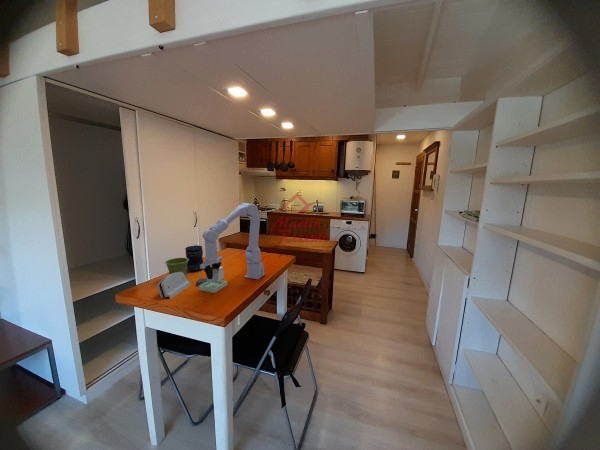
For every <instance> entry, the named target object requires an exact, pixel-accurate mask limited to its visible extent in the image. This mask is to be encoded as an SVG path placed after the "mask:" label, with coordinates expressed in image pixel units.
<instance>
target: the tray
mask: <svg viewBox="0 0 600 450" xmlns="http://www.w3.org/2000/svg"><path fill="white" fill-rule="evenodd" d="M226 286H228V281H227V280H223V279H222V280H217V281H215V282H214V283H213V282H205V283H204V284H202V285H200V286H198V290H199V291H203V292H207V293H213V294H216V293H218V292H219V291H220V290H222V289H223V288H225V287H226Z"/></svg>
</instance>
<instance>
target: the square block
mask: <svg viewBox="0 0 600 450" xmlns="http://www.w3.org/2000/svg"><path fill="white" fill-rule="evenodd" d="M205 282H207V278H206V277H204V278H203V277H202V278H198V280H196V281H195V287H199V286H200V285H202V284H204V283H205Z"/></svg>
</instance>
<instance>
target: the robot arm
mask: <svg viewBox="0 0 600 450" xmlns="http://www.w3.org/2000/svg"><path fill="white" fill-rule="evenodd" d="M259 212H260V211H259V207H258V206H257V205H256V204H255V203H248V202H242V203H241V204H239V205H238V206H236V208H235V209H233V211H232V212H231V213H229V214H228V215H227V216H226V217H225V218H224V219H220V220H219V219H217V221H216V223H215V224H213V225H212V226H209V229H205V230H204V232H203V234H202V238H203V240H204V252H205V254H204V255H205V261H203V264H201V265H200V269H203V270H202V271H204V273H205V276H207V278H208V279H212V271H213V268H216V269H218V272H219V268H220V266H221V265H222V262H221V261H223V256H218V245H217V244H218V243H217V241H218V239H219V236H220V235H222V234H223V233H224V232H225V231H226V230H227V229H229V225H230V224H231V223H232V222H233V221H235V220H236V219H237V218H239V217H240V216H247V217H248V218H249V219H250V221H249V224H250V225H249V235H248V236H249V238H248V246H247V247H246V250H245V252H244V258H245V259H246V267H247V268H246V269H247V270H246V273H247V274H246V275H244V278H247V279H253V280H259V279H261V278H262V277H263V276H264V275H265V265H264V263H263V262H261V260H262V254H261V249H260V247H259V240H260V238H259V237H260V223H261V214H260V213H259ZM211 266H212V267H211ZM221 267H222V266H221Z"/></svg>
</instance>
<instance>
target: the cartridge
mask: <svg viewBox="0 0 600 450" xmlns="http://www.w3.org/2000/svg"><path fill="white" fill-rule="evenodd" d="M217 280H219V279H218V269H216V268H213V271H212V279H208V278H207V282H213V283H214V282H215V281H217Z"/></svg>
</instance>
